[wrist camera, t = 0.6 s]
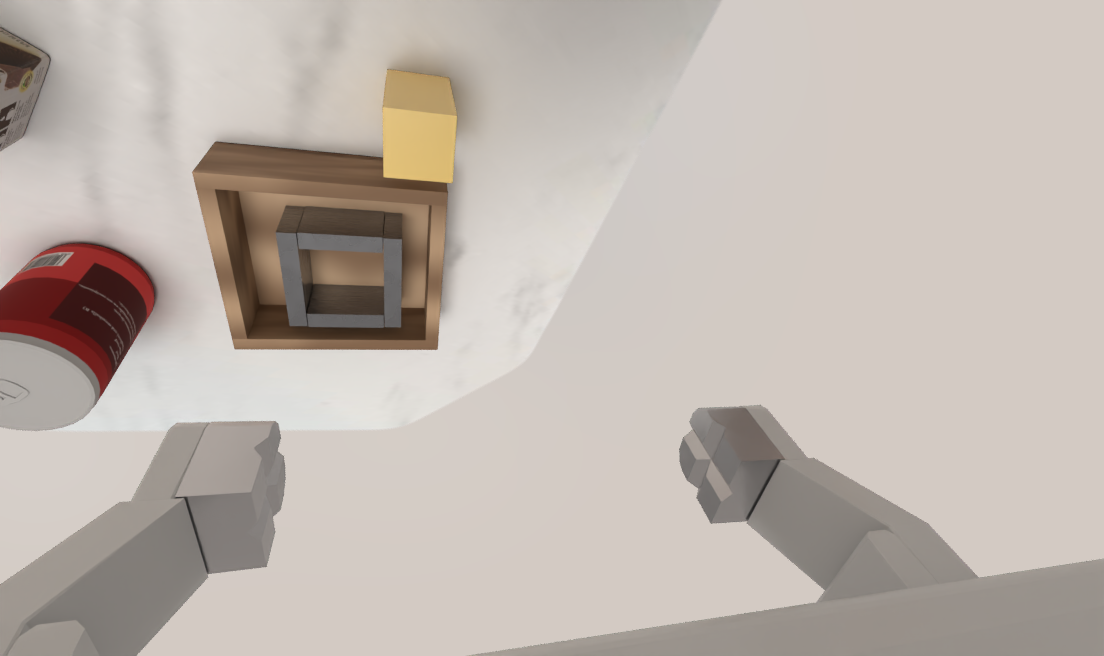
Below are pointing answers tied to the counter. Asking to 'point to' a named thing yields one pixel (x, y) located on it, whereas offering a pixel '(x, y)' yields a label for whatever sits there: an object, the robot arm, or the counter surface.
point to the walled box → (253, 260)
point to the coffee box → (18, 85)
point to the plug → (418, 127)
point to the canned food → (67, 333)
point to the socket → (339, 234)
